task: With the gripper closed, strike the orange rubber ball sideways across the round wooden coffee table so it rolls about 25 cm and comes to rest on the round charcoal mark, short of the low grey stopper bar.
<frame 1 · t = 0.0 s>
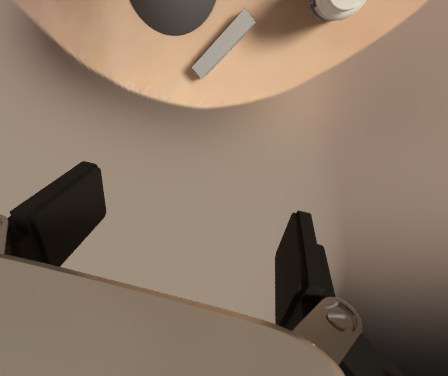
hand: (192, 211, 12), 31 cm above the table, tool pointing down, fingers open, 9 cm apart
stopper bar: (224, 45, 36), on the table
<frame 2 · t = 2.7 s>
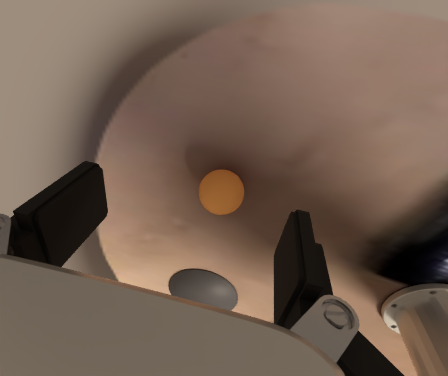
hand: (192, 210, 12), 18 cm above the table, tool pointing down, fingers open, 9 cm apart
ball: (221, 192, 30), on the table
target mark: (203, 293, 46), on the table
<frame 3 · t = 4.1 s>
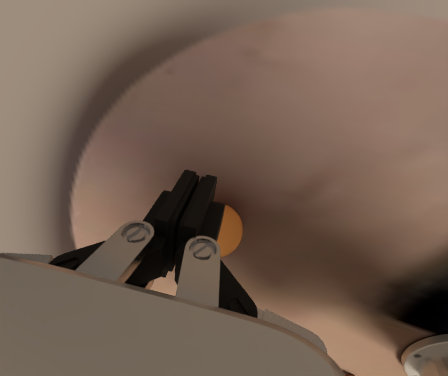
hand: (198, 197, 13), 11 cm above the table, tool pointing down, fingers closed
ball: (215, 229, 26), on the table
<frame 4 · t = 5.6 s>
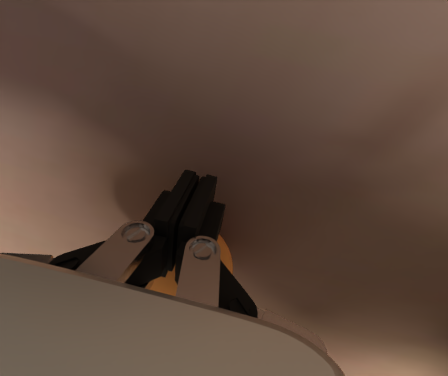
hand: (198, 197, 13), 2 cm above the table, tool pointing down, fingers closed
ball: (185, 268, 14), on the table
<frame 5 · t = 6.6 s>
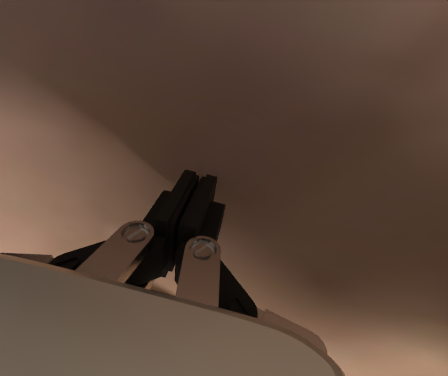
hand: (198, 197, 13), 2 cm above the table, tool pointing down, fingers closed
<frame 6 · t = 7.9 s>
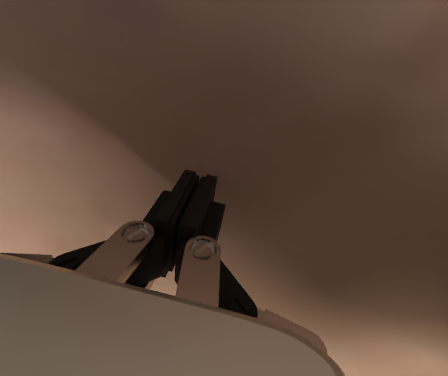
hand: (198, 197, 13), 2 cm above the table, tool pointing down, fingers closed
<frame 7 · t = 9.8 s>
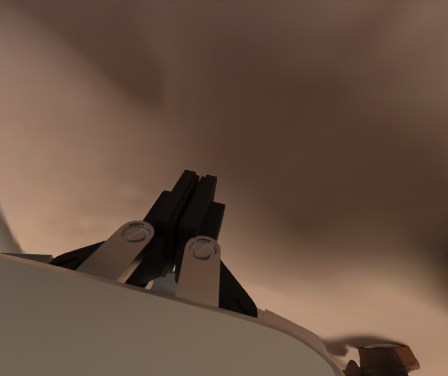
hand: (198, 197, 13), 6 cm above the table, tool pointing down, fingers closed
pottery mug: (373, 358, 32), on the table
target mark: (184, 307, 30), on the table
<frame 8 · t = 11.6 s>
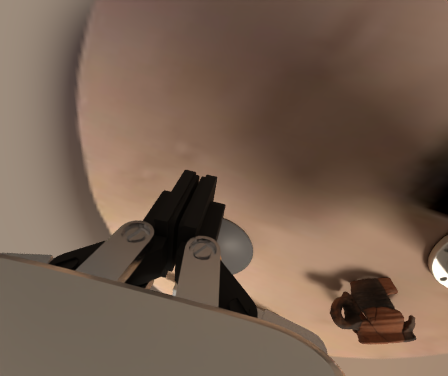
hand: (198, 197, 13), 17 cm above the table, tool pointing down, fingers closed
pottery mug: (363, 293, 40), on the table
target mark: (211, 247, 39), on the table
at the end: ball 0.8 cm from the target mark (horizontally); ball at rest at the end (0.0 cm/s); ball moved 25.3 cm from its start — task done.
